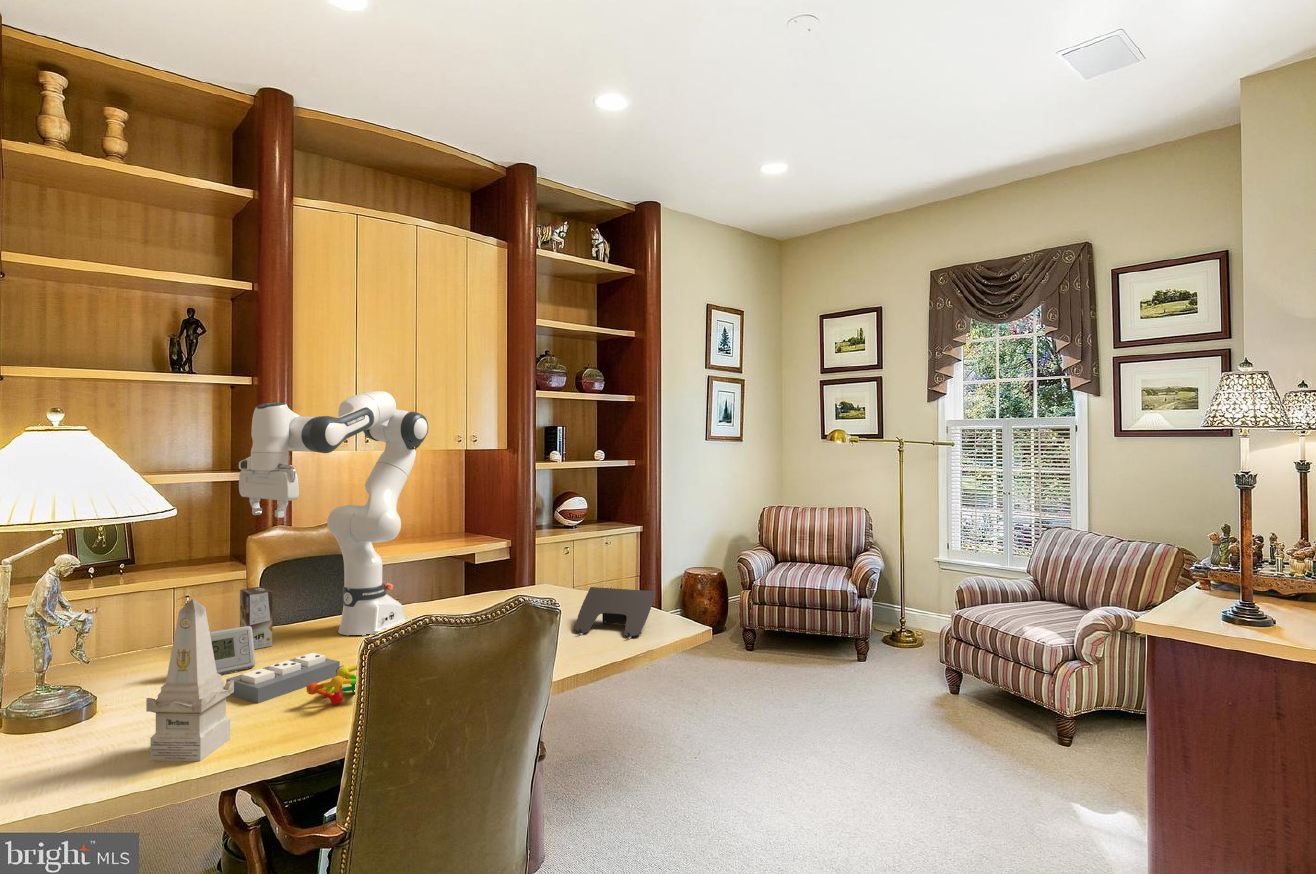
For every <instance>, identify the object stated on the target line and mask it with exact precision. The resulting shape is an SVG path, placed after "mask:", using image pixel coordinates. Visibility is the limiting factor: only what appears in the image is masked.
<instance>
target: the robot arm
mask: <svg viewBox="0 0 1316 874" xmlns="http://www.w3.org/2000/svg"><path fill="white" fill-rule="evenodd" d="M337 415H338V417H335V416H331V415H322V416H320V415H319V416H301V414H298V413H296V412H294V411H293V410H292V409H290V408H289V407H288V404H287V403H284V402H276V401H275V402H266V403H260V404H258V405H257V406H256V407H255V408H254V411H253V414H252V420H251V435H250V436H251V439H252V446H251V449H250V456H248V457H246V458H244V459H242V460H240V461H239V462H238V469H239V470H240V471H239V474H238V475H239V476H238V477H239V478H238V491H239V495H240V496H241V497H242V498H249V504H250V507H251V508H252V510H251V511H252V512H251V514H252V515H253V516H260V515H262V513H263V512H262V511H263V508H262V507H261V506H260V502H261V499H262V500H263V499H264V500H276V503H277V508H276V510H274V517H275V518H284V517H285V515H286V514H285V511H286V509H287V507H288V505H289V501H290V502H291V501H297V500H298V499H299V496H300V488H299V477H298V474H297V471H296V469H295V468H294V467H293V465H292V464H289V459H290V455H289V453H290V452H289V451H292V452H307V453H308V452H310V453H311V452H312V453H313V452H314V453H319V454H329V453H332V452H334V451H335V450H336V449H338V447H339V446H341V444H342V443H344V441H346V440H347V439H349V438H351V437H355V436H356V435H357V434H360V433H362V432H363V434H364V435H365V437H367V438H368V439H370V440H372V441H375V442H383V443H385V446H384V450H383V451H382V453H381V454H380V455H379V457H378V459H377V461H376V462H375V465H374V466H373V468H372V469H371V471H370V473H369V475H368V476H367V479H366V481H365V483H364V484H365V485H364V488H365V491H366V492H367V494H368V498H367V502H366V503H365V504H364V505H356V504H348V505H341V506H338V507H336V508H334V509H332V511H330V513H329V515H328V517H327V522H326V525H327V529H328V531H329V533H330V534H331V535H333V537H334V538H335V540H336V541H337V544H338V546H339V548H340V552H341V555H342V558H343V570H344V573H343V574H344V585H343V586H342V602H343V604H342V605H343V607H342V614H341V619H340V624H339V627H338V630H337V632H338V633H339V634H340V635H344V636H349V635H362V636H367V635H366V634H370V635H371V636H372V635H373V636H374V635H377V634H376V633H378V632H381V631H384V630H387V629H388V628H390V627H392V626H395V625H397V624H400V623H403V622H405V621H407V620H410V619H411V617H408V616H405V613H404V612H405V611H404V607H403V605H402V603H401V602H399V601H398V600H396V599H394V598H393V597H392V596H390V595H389V594H388V593H387V591H388V590H389V591H392V590H393V589H394V584H392V583H388V582H387V583H386V584H385V583H384V582H383V559H382V557H381V555H380V554H378V553H377V552H376V550H375V548H374V545H373V543H376V544H380V543H386V542H390V541H391V542H392V541H393V540H394V539H396V538H398V536H399V534H400V532H401V529H402V519H401V517H400V515H399V513H398V509H397V507H398V501H399V497H400V495H401V493H402V491H403V489H404V487H405V484H406V482H407V481H408V479H409V477H410V475H411V472H412V469H413V467H414V463H415V461H416V457H417V451H416V449H418V448H419V447H420V446H421V444H422V443H423V442H424V440H425V439H426V437H427V436H428V432H429V424H428V421H427V418H426V416H425V415H423V414H422V413H419V412H417V411H409V410H403V409H397V403H396V400H395V398H394V397H393V395H392V394H390V393H389V392H387V391H384V390H383V391H382V390H372V391H367V392H361V393H358V394H355V395H352V396H349V397H348V398H346V399H344V400H342V402H341V403H340V404H339V407H338V411H337ZM406 618H408V619H406ZM370 635H369V636H370Z"/></svg>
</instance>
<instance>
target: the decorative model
mask: <svg viewBox="0 0 1316 874" xmlns="http://www.w3.org/2000/svg"><path fill="white" fill-rule="evenodd" d="M357 665H358V664H357ZM357 665H354V666H350V667H347V666H345V665H340V667H339V668H337V670H336V674H337V675H336V676H335V677H332V678H331V679H330V681H327V682H323V683H320V684H318V683H310V684H309V685H308V686H306V692H307V694H309V695H311V696H312V695H316V694H318V695H320V696H322V697H324V698H328V699H329V700H330V703H331V704H332V705H333V706H339V705H340V704H341V703H342V702H343V700H344V699H343V698H344V697H343V694H341V693H342V692H352V693H353V694H355V693H354V690H355V684H356V675H357V674H355V673H352V672H354V671H358V670H357ZM343 685H349V686H343Z"/></svg>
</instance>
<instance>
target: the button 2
mask: <svg viewBox="0 0 1316 874" xmlns="http://www.w3.org/2000/svg"><path fill="white" fill-rule="evenodd" d="M289 660H290V659H288V660H285V661H280V662H278V663H277V662H276V663H274V664H272V665H268V666H269V670H270V671H274V672H275V674H278V675H285V674H288V673H291V672H294V671H297V670H300V669H301V663H297V662H293V661H289Z"/></svg>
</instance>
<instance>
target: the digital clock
mask: <svg viewBox="0 0 1316 874" xmlns="http://www.w3.org/2000/svg"><path fill="white" fill-rule="evenodd" d="M210 637H211V642H212V648H213V653H214V659H215V665H216V670H217V673H218V674H220V675H221V676H223V675H228V674H231V672H233V673H236V672H235V671H238V672H240V671H239V670H241V671H243V670H248V669H252V668H254V667H255V666H256V655H255V649H254V642H253V632H252V627H250V626H245V627H240V626H239V627H231V628H224V629H219V630H212V631H210ZM227 673H228V674H227Z"/></svg>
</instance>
